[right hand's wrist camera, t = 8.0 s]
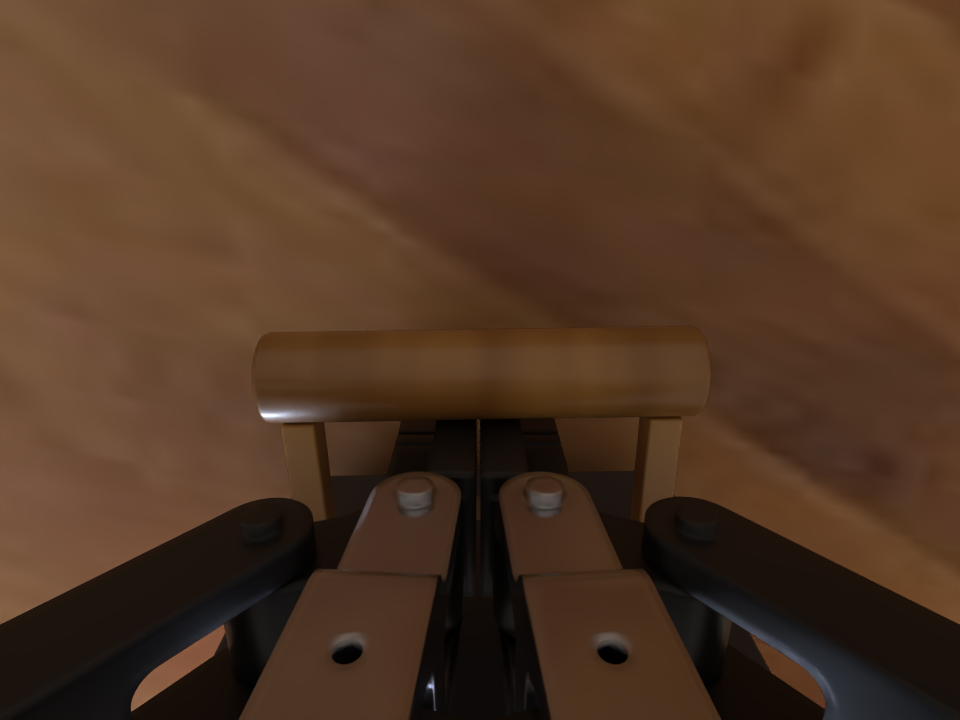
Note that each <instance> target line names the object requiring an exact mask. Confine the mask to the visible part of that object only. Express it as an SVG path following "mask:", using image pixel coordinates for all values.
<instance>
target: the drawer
mask: <svg viewBox="0 0 960 720" xmlns="http://www.w3.org/2000/svg"><path fill="white" fill-rule="evenodd" d="M710 382H711V365H710V357H709V351H708V347H707V343H706V341H705V338H704V336H703V334H702V333H701V331H700V330H699V329H697V328H696V327H693V326H640V327H577V328H515V329H452V330H389V331H326V332H270V333H267V334H265V335H263V336H262V337H261V338H260V340H259V342H258V344H257V346H256V349H255V353H254V358H253V365H252V389H253V396H254V401H255V405H256V408H257V411H258V413H259V415H260V416H261V418H262V419H263V420H265V421H267V422H269V423H283V424H282V426H281V430H282V437H283V443H284V450H285V456H286V463H287V469H288V476H289V482H290V489H291V495H292V499H293V500H296V501H299V502H301V503H303V504H305V505H306V506H308V508H309V509H310V510H311V512H312V514H313V522H316V521H321V520H326V519H331V518H336V517H340V516H344V515H348V514H350V513H353V512H356V511H358V510H360V509H362V508H364V507H365V505H366V502H367V500H368V498H369V496H370V493H371V492H372V490H373V489H374V488H375V487H376V486H377V485H378V484H379V483H380V482H382V481H384V480H385V479H386V476H387V475H365V476H330V468H329V459H328V451H327V443H326V435H325V427H324V422H362V421H423V420H484V419H545V418H606V417H640V419H639V429H638V440H637V451H636V461H635V471H605V472H569V476H570V478H573V479H574V480H576V481H578V482H579V483H581V484H582V485H583V486H584V487H585V488H586V489H587V490H588V492H589V494H590V496H591V498H592V500H593V503H594V505H595V507H596V509H597V511H600V512H602V513H605V514H608V515H611V516H615V517H619V518H624V519H629V520H634V521H639V522H644V519H645V513H646V510H647V509H648V507H649V506H650V505H651V504H653V503H654V502H656V501H658V500H661V499H665V498H670V497H675V496H674V488H675V480H676V472H677V464H678V456H679V448H680V440H681V432H682V424H683V420H682V418H681V416H694V415H697V414H699V413H700V412H701V411H702V410H703V409H704V407H705V405H706V402H707V399H708V395H709V390H710ZM728 644H729V645H731V646H732V647H734V648H735V649H737V650H738V651H739V652H741V653H742V654H744V655H745V656H747V657H748V658H750V659H751V660H753V661H754V662H756V663H757V664H759V665H760V666H762V667H763V668H764V669H766V670H767V671H769V672H770V673H771V671H770V670H769V668H768V666H767V664H766V662H765V660H764V659H763V657H762V655H761V653H760V651H759V650H758V648H757V646H756V644H755V642H754V640H753V639H752V637H751V635H750V633H749V632H748V631H746V630H745V629H743V628H742V627H740V626H739V625H737V624H736V623H734V622H732V624H731V629H730V634H729V640H728ZM226 647H228V643H227V638H226V633H225V634H224V637H223V639H222V641H221V643H220V645H219V647H218V649H217V651H216V653H215V655H216V654H218V653H219V652H220V651H222V650H223V649H225V648H226ZM215 655H214V656H215ZM453 715H456V716H460V717H464V718H468V719H473V720H487V719H492V718H496V717H500V716H504V715H507V712H506V704H505V696H504V689H503V681H502V673H501V665H500V657H499V650H498V642H497V622H496V620H495V617H494V612H493V597H480V474H477V501H476V597H463V641H462V649H461V657H460V665H459V672H458V680H457V688H456V696H455V704H454V712H453Z"/></svg>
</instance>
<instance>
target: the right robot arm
mask: <svg viewBox="0 0 960 720" xmlns="http://www.w3.org/2000/svg"><path fill="white" fill-rule="evenodd" d="M476 501H477V420H423V421H402V422H401V426H400V429H399V435H398V437H397V440H396V446H395V447H394V451H393V454H392V458H391V462H390V465H389V469H388V472H387V476H386V479H385V480H384V481H382V482H380V483H379V484H378V485H377V486H376V487H375V488H374V489H373V490H372V492H371V493H370V496H369V498H368V500H367V502H366V505H365V507H364V508H362V509H360V510H358V511H356V512H353V513H350V514H348V515H344V516H340V517H336V518H331V519H326V520H321V521H316V522H313V514H312V512H311V510H310V509H309V508H308V506H306V505H305V504H303V503H301V502H299V501H296V500H293V499H287V498H267V499H261V500H256V501H252V502H249V503H246V504H243V505H240V506H238V507H236V508H234V509H232V510H230V511H228V512H226V513H224V514H222V515H220V516H218V517H216V518H214V519H212V520H210V521H208V522H206V523H204V524H202V525H200V526H198V527H196V528H194V529H192V530H190V531H188V532H186V533H184V534H182V535H180V536H178V537H176V538H174V539H172V540H170V541H167V542H165V543H163V544H161V545H159V546H157V547H155V548H153V549H151V550H149V551H147V552H145V553H143V554H141V555H139V556H137V557H135V558H133V559H131V560H129V561H127V562H125V563H123V564H121V565H119V566H117V567H115V568H113V569H111V570H109V571H107V572H105V573H103V574H101V575H99V576H97V577H95V578H93V579H91V580H89V581H87V582H85V583H83V584H81V585H79V586H77V587H75V588H73V589H71V590H69V591H67V592H65V593H63V594H61V595H59V596H57V597H55V598H53V599H51V600H49V601H47V602H45V603H43V604H41V605H39V606H37V607H35V608H33V609H31V610H29V611H27V612H25V613H23V614H21V615H19V616H17V617H15V618H13V619H11V620H9V621H7V622H5V623H3V624H1V625H0V720H473V719H468V718H464V717H460V716H456V715H453V712H454V704H455V696H456V688H457V680H458V672H459V665H460V657H461V649H462V641H463V597H476ZM480 597H493V612H494V617H495V620H496V622H497V642H498V650H499V657H500V665H501V673H502V681H503V689H504V696H505V704H506V712H507V715H504V716H500V717H496V718H492V719H487V720H960V625H959V624H957V623H955V622H953V621H951V620H949V619H947V618H945V617H943V616H941V615H939V614H937V613H935V612H933V611H931V610H929V609H927V608H925V607H923V606H921V605H919V604H917V603H915V602H913V601H911V600H909V599H907V598H905V597H903V596H901V595H899V594H897V593H895V592H893V591H891V590H889V589H887V588H885V587H883V586H881V585H879V584H877V583H875V582H873V581H871V580H869V579H867V578H865V577H863V576H861V575H859V574H857V573H855V572H853V571H851V570H849V569H847V568H845V567H843V566H841V565H839V564H837V563H835V562H833V561H831V560H829V559H827V558H825V557H823V556H821V555H819V554H817V553H815V552H813V551H811V550H809V549H807V548H805V547H803V546H801V545H799V544H797V543H794V542H792V541H790V540H788V539H786V538H784V537H782V536H780V535H778V534H776V533H774V532H772V531H770V530H768V529H766V528H764V527H762V526H760V525H758V524H756V523H754V522H752V521H750V520H748V519H746V518H744V517H742V516H740V515H738V514H736V513H734V512H732V511H730V510H728V509H726V508H724V507H722V506H720V505H718V504H715V503H712V502H709V501H706V500H702V499H698V498H692V497H670V498H665V499H661V500H658V501H656V502H654V503H653V504H651V505H650V506H649V507H648V509H647V510H646V513H645V519H644V522H639V521H634V520H629V519H624V518H619V517H615V516H611V515H608V514H605V513H602V512H600V511H597V509H596V507H595V505H594V503H593V500H592V498H591V496H590V494H589V492H588V490H587V489H586V488H585V487H584V486H583V485H582V484H581V483H579V482H578V481H576V480H574V479H573V478H570V476H569V472H568V468H567V465H566V461H565V457H564V453H563V450H562V446H561V442H560V438H559V435H558V431H557V427H556V424H555V420H554V418H545V419H484V420H480ZM732 622H734V623H736V624H737V625H739V626H740V627H742V628H743V629H745V630H746V631H748V632H750V633H751V634H753V635H754V636H756V637H757V638H759V639H760V640H762V641H763V642H765V643H767V644H768V645H770V646H771V647H773V648H774V649H776V650H777V651H779V652H780V653H782V654H784V655H785V656H787V657H788V658H790V659H791V660H793V661H794V662H796V663H798V664H799V665H800V666H802V667H803V668H804V669H805V670H807V671H808V672H809V673H810V674H811V675H812V677H813V678H814V679H815V680H816V682H817V683H818V685H819V686H820V688H821V690H822V692H823V694H824V698H825V703H826V707H825V709H823V708H822V707H820V706H819V705H817V704H816V703H815V702H813V701H812V700H810V699H809V698H807V697H806V696H804V695H803V694H801V693H800V692H798V691H797V690H795V689H794V688H792V687H791V686H789V685H788V684H787V683H785V682H784V681H782V680H781V679H779V678H778V677H776V676H775V675H773V674H772V673H770V672H769V671H767V670H766V669H764V668H763V667H762V666H760V665H759V664H757V663H756V662H754V661H753V660H751V659H750V658H748V657H747V656H745V655H744V654H742V653H741V652H739V651H738V650H737V649H735V648H734V647H732V646H731V645H729V644H728V640H729V634H730V629H731V624H732ZM223 624H224V628H225V633H226V638H227V643H228V647H226V648H225V649H223V650H222V651H220V652H219V653H218V654H216V655H215V656H213V657H212V658H210V659H209V660H207V661H206V662H204V663H203V664H201V665H200V666H198V667H197V668H195V669H194V670H193V671H191V672H190V673H188V674H187V675H185V676H184V677H182V678H181V679H179V680H178V681H176V682H175V683H173V684H172V685H170V686H169V687H168V688H166V689H165V690H163V691H162V692H160V693H159V694H157V695H156V696H154V697H153V698H151V699H150V700H148V701H147V702H145V703H144V704H143V705H141V706H140V707H138V708H137V709H135V710H134V711H132V712H131V701H132V698H133V695H134V693H135V691H136V689H137V688H138V686H139V684H140V683H141V682H142V680H143V679H144V678H145V677H146V676H147V675H148V674H149V673H150V672H151V671H153V670H154V669H155V668H157V667H158V666H159V665H161V664H162V663H164V662H166V661H167V660H169V659H170V658H172V657H173V656H175V655H176V654H178V653H179V652H181V651H183V650H184V649H186V648H187V647H189V646H190V645H192V644H193V643H195V642H197V641H198V640H200V639H201V638H203V637H204V636H206V635H207V634H209V633H210V632H212V631H214V630H215V629H217V628H218V627H220V626H221V625H223Z"/></svg>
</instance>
